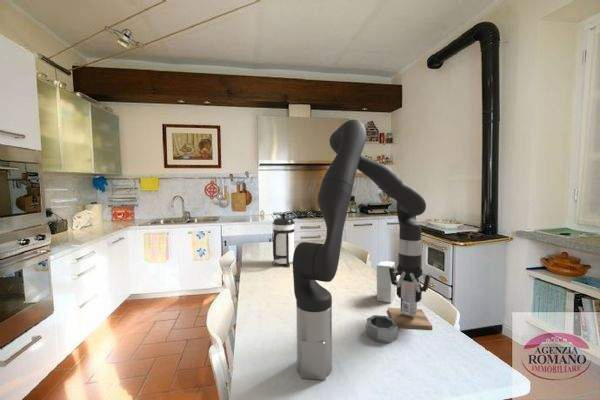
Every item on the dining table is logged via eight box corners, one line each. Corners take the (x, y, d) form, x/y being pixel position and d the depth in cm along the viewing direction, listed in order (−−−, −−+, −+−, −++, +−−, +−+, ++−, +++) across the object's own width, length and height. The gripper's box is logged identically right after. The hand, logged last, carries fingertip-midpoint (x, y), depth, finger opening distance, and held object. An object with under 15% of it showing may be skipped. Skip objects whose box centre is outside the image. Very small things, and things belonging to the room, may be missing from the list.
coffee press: (267, 261, 169) (266, 212, 167) (292, 259, 174) (292, 211, 171) (273, 270, 152) (272, 216, 150) (301, 267, 157) (300, 214, 155)
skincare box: (391, 303, 111) (391, 267, 109) (375, 300, 114) (376, 264, 112) (395, 295, 118) (395, 261, 117) (380, 293, 121) (381, 259, 120)
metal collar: (399, 343, 84) (399, 330, 83) (368, 341, 85) (368, 329, 85) (393, 327, 93) (393, 316, 92) (365, 326, 94) (365, 314, 94)
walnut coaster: (432, 329, 91) (432, 326, 91) (394, 327, 93) (394, 324, 93) (421, 312, 103) (421, 309, 103) (388, 310, 105) (388, 307, 105)
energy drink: (408, 307, 102) (409, 275, 100) (420, 314, 97) (421, 281, 96) (397, 310, 100) (397, 278, 99) (408, 317, 95) (408, 283, 94)
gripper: (385, 251, 98) (384, 297, 99) (429, 257, 89) (428, 308, 90) (392, 246, 104) (392, 291, 105) (434, 252, 95) (433, 300, 96)
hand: (408, 299), depth 98 cm, fingers closed on energy drink, 5 cm apart
